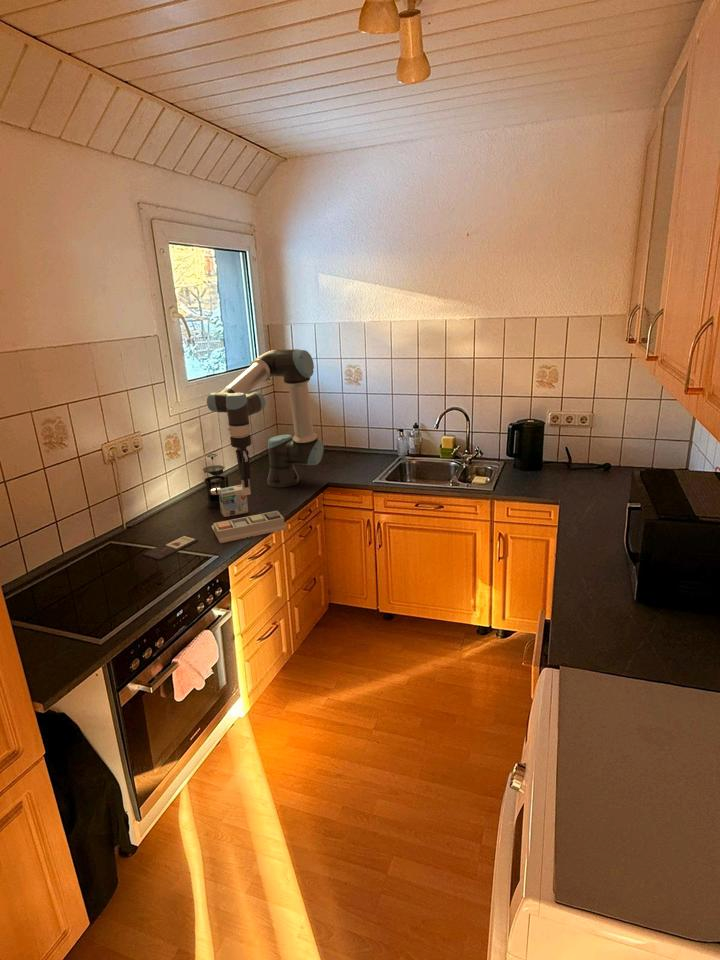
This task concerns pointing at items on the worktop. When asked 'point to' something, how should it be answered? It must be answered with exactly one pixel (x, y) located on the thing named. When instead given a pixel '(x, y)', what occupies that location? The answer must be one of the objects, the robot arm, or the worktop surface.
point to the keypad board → (248, 528)
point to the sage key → (256, 519)
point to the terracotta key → (224, 525)
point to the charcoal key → (272, 515)
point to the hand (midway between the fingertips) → (246, 494)
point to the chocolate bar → (170, 547)
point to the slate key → (240, 523)
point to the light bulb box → (232, 501)
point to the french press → (214, 483)
